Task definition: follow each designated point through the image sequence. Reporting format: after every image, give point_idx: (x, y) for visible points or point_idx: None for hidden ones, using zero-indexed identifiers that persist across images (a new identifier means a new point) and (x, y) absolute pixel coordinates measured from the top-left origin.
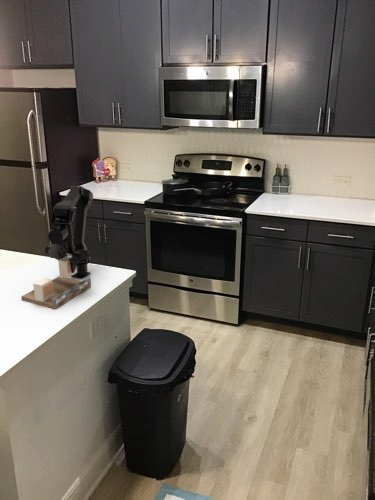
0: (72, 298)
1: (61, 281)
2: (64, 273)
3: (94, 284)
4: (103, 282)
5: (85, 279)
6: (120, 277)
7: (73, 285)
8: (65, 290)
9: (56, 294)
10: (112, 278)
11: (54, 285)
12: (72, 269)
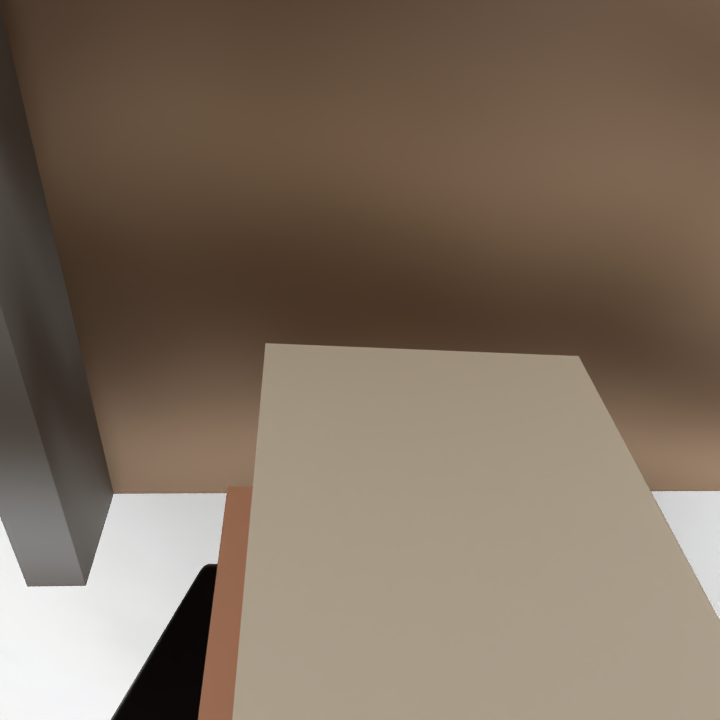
0: None
1: (600, 373)
2: (387, 440)
3: (121, 518)
4: (66, 589)
5: (53, 519)
6: (10, 711)
7: (284, 338)
8: (265, 70)
9: None
10: (65, 676)
11: (660, 185)
12: (138, 685)
